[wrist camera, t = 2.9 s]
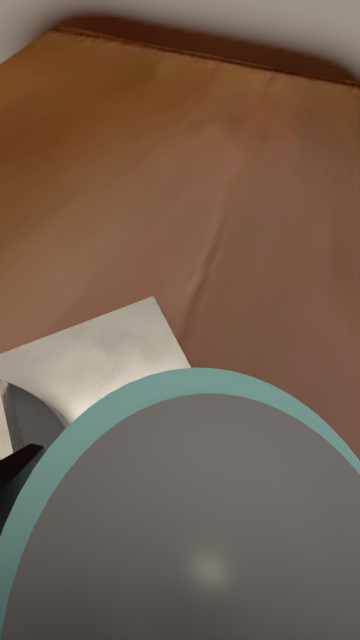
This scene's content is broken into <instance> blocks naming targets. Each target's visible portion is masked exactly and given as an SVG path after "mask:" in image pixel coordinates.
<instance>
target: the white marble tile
mask: <svg viewBox="0 0 360 640" xmlns="http://www.w3.org/2000/svg"><path fill="white" fill-rule="evenodd" d="M184 368H191V367H190V365H189V363H188V361H187V359H186V357H185V355H184V353H183V351H182V350H181V348H180V346H179V344H178V342H177V340H176V338H175V336H174V334H173V333H172V331H171V329H170V327H169V325H168V323H167V321H166V319H165V317H164V315H163V314H162V312H161V310H160V308H159V306H158V304H157V302H156V300H155V298H154V297H153V296H152V297H150V298H147V299H144V300H142V301H139V302H136V303H134V304H131V305H128V306H126V307H123V308H121V309H118V310H115V311H113V312H110V313H107V314H105V315H102V316H99V317H97V318H94V319H91V320H89V321H86V322H83V323H81V324H78V325H76V326H73V327H70V328H68V329H65V330H62V331H60V332H57V333H54V334H52V335H49V336H46V337H44V338H41V339H38V340H36V341H33V342H31V343H28V344H25V345H23V346H20V347H17V348H15V349H12V350H9V351H7V352H4V353H1V354H0V460H1V459H3V458H5V457H7V456H8V455H10V454H12V453H14V452H16V451H17V450H19V449H21V448H23V447H25V446H26V445H28V444H30V443H36V444H41V445H44V446H45V449H46V451H47V450H48V448H49V447H50V446H51V444H52V443H53V442H54V441H55V440H56V439H57V438H58V437H59V436H60V434H61V433H62V432H63V431H64V430H65V429H66V428H67V427H68V426H69V425H70V424H71V423H72V422H73V421H74V420H75V419H76V418H77V417H79V416H80V415H81V414H82V413H83V412H84V411H85V410H87V409H88V408H89V407H90V406H92V405H93V404H94V403H96V402H97V401H99V400H100V399H102V398H103V397H105V396H106V395H107V394H109V393H111V392H113V391H115V390H116V389H118V388H120V387H122V386H124V385H126V384H128V383H130V382H132V381H135V380H138V379H140V378H143V377H146V376H148V375H152V374H156V373H160V372H164V371H168V370H175V369H184ZM46 451H45V453H46Z"/></svg>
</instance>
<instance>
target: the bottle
mask: <svg viewBox="0 0 360 640" xmlns="http://www.w3.org/2000/svg"><path fill="white" fill-rule="evenodd" d="M0 640H360V461H359V460H358V458H357V457H356V456H355V455H354V453H353V452H352V451H351V449H350V448H349V447H348V445H347V444H346V443H345V442H344V441H343V440H342V439H341V438H340V437H339V436H338V434H337V433H336V432H335V431H334V430H333V429H332V428H331V427H330V426H329V425H328V424H327V423H326V422H325V421H324V420H322V419H321V418H320V417H319V416H318V415H317V414H315V413H314V412H313V411H312V410H311V409H310V408H308V407H307V406H305V405H304V404H303V403H301V402H300V401H298V400H297V399H295V398H294V397H293V396H291V395H289V394H288V393H286V392H284V391H282V390H280V389H278V388H277V387H275V386H273V385H271V384H269V383H266V382H264V381H261V380H259V379H256V378H254V377H251V376H248V375H244V374H240V373H237V372H233V371H228V370H221V369H214V368H184V369H175V370H168V371H164V372H160V373H156V374H152V375H148V376H146V377H143V378H140V379H138V380H135V381H132V382H130V383H128V384H126V385H124V386H122V387H120V388H118V389H116V390H115V391H113V392H111V393H109V394H107V395H106V396H105V397H103V398H102V399H100V400H99V401H97V402H96V403H94V404H93V405H92V406H90V407H89V408H88V409H87V410H85V411H84V412H83V413H82V414H81V415H80V416H79V417H77V418H76V419H75V420H74V421H73V422H72V423H71V424H70V425H69V426H68V427H67V428H66V429H65V430H64V431H63V432H62V433H61V434H60V436H59V437H58V438H57V439H56V440H55V441H54V442H53V443H52V444H51V446H50V447H49V448H48V450H47V451H46V453H45V454H44V455H43V457H42V458H41V459H40V461H39V462H38V463H37V465H36V466H35V468H34V469H33V471H32V473H31V474H30V476H29V478H28V479H27V481H26V483H25V485H24V486H23V488H22V490H21V491H20V493H19V495H18V497H17V499H16V501H15V503H14V506H13V508H12V510H11V512H10V514H9V516H8V519H7V521H6V523H5V525H4V528H3V531H2V533H1V536H0Z"/></svg>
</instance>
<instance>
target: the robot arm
mask: <svg viewBox="0 0 360 640" xmlns="http://www.w3.org/2000/svg"><path fill="white" fill-rule="evenodd" d="M45 451H46V449H45V446H44V445H41V444H36V443H30V444H28V445H26V446H25V447H23V448H21V449H19V450H17V451H16V452H14V453H12V454H10V455H8V456H7V457H5V458H3V459H1V460H0V536H1V533H2V531H3V528H4V525H5V523H6V521H7V519H8V516H9V514H10V512H11V510H12V508H13V506H14V503H15V501H16V499H17V497H18V495H19V493H20V491H21V490H22V488H23V486H24V485H25V483H26V481H27V479H28V478H29V476H30V474H31V473H32V471H33V469H34V468H35V466H36V465H37V463H38V462H39V461H40V459H41V458H42V457H43V455H44V454H45Z"/></svg>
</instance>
